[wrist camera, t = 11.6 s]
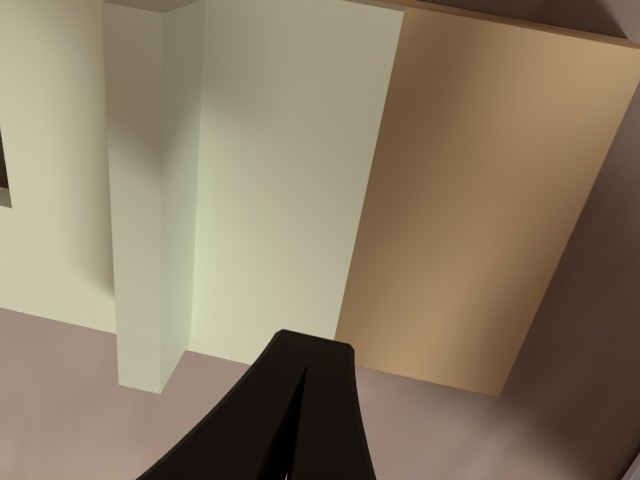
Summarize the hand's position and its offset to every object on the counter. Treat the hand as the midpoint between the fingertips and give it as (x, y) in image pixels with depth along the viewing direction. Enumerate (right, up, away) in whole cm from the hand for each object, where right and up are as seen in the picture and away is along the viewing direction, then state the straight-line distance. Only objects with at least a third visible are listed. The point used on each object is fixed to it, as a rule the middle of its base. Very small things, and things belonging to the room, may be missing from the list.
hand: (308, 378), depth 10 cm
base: (0, +4, +7) cm, 8 cm away
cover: (-6, +5, +6) cm, 9 cm away
